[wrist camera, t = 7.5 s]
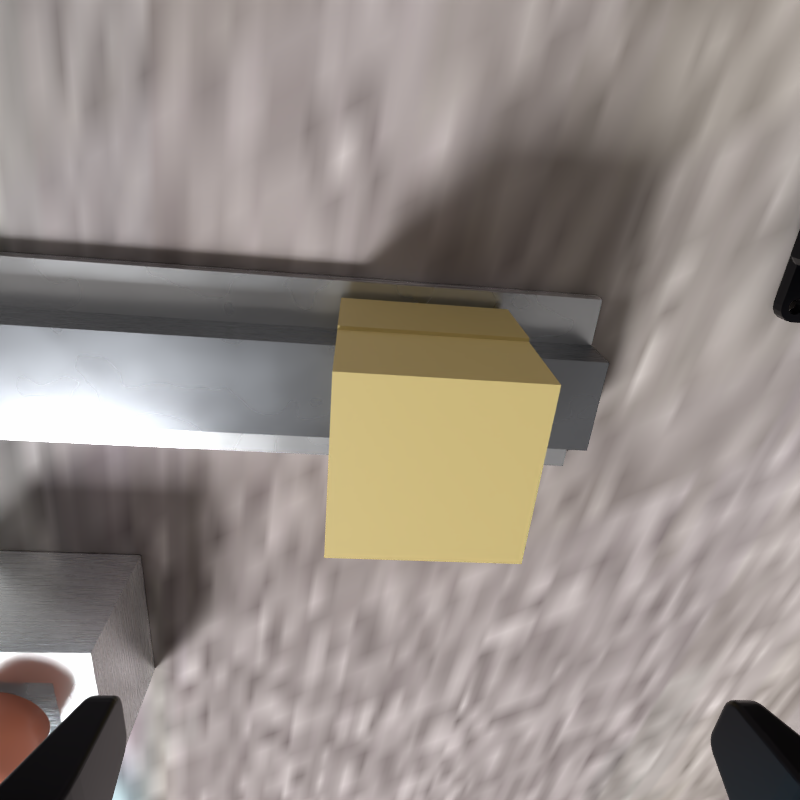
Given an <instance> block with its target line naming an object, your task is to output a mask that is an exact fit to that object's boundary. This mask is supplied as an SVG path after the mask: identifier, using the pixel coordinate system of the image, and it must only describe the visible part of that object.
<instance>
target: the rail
mask: <svg viewBox="0 0 800 800" xmlns="http://www.w3.org/2000/svg"><path fill="white" fill-rule="evenodd" d="M341 298H354V299H368V300H382V301H396V302H410V303H425V304H439V305H453V306H467V307H481V308H496V309H508V310H509V312H510V313H511V314H512V316H513V317H514V318H515V320H516V321H517V322H518V324H519V325H520V326H521V328H522V329H523V330H524V331H525V333H526V334H527V335H528V337H529V338H530V339H529V343H530V344H531V345H532V347H533V348H534V349H535V351H536V352H537V353H538V355H539V356H540V357H541V359H542V360H543V361H544V363H545V364H546V365H547V367H548V368H549V369H550V371H551V372H552V373H553V375H554V376H555V377H556V379H557V380H558V381H559V383H560V384H561V388H560V393H559V397H558V402H557V406H556V411H555V415H554V420H553V424H552V429H551V433H550V438H549V442H548V447H547V451H546V456H545V460H544V465H554V466H563V463H564V458H565V454H566V450H586V451H587V447H588V444H589V440H590V436H591V432H592V428H593V424H594V420H595V416H596V412H597V408H598V404H599V400H600V397H601V393H602V389H603V385H604V381H605V377H606V373H607V369H608V365H609V362H608V361H607V360H606V359H605V358H604V357H603V356H602V355H601V354H600V353H599V352H598V351H597V350H596V349H594V348H593V347H592V346H591V345H592V341H593V337H594V333H595V329H596V324H597V320H598V316H599V312H600V308H601V303H602V299H601V298H599V297H598V296H597V295H584V294H570V293H557V292H543V291H529V290H516V289H502V288H489V287H475V286H461V285H448V284H434V283H421V282H407V281H393V280H380V279H366V278H353V277H339V276H326V275H312V274H298V273H285V272H271V271H258V270H244V269H230V268H217V267H203V266H190V265H176V264H162V263H149V262H135V261H122V260H108V259H94V258H81V257H67V256H54V255H40V254H26V253H13V252H0V440H20V441H42V442H63V443H84V444H106V445H127V446H148V447H170V448H191V449H212V450H234V451H255V452H277V453H298V454H319V455H329V437H330V414H331V390H332V370H333V362H334V353H335V345H336V337H337V328H338V318H339V310H340V302H341Z"/></svg>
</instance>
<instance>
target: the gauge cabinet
mask: <svg viewBox="0 0 800 800" xmlns="http://www.w3.org/2000/svg"><path fill="white" fill-rule="evenodd" d="M154 670H155V668H154V660H153V652H152V644H151V635H150V627H149V619H148V611H147V603H146V595H145V587H144V579H143V571H142V562H141V555H116V554H84V553H52V552H19V551H0V692H3V693H9V694H14V695H17V696H20V697H23V698H25V699H27V700H29V701H31V702H33V703H34V704H36V705H37V706H38V707H40V708H41V709H42V710H43V711H44V713H45V714H46V715H47V717H48V719H49V722H50V732H49V734H50V733H51V732H52V731H53V730H54V729H55V728H56V727H57V726H58V725H59V724H60V723H61V722H62V721H63V720H64V719H65V718H66V717H67V716H68V715H69V714H70V713H71V712H72V711H73V710H74V709H75V708H76V707H77V706H78V705H79V704H80V703H81V702H83V701H84V700H85V699H86V698H88V697H90V696H94V695H115V696H118V697H119V698H120V699H121V702H122V707H123V713H124V720H125V726H126V732H127V741H128V739H129V736H130V733H131V731H132V728H133V726H134V723H135V720H136V718H137V715H138V712H139V710H140V707H141V704H142V702H143V699H144V696H145V694H146V691H147V689H148V686H149V683H150V681H151V678H152V675H153V673H154ZM127 741H126V744H127Z"/></svg>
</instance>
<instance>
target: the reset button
mask: <svg viewBox="0 0 800 800" xmlns="http://www.w3.org/2000/svg"><path fill="white" fill-rule="evenodd" d="M49 732H50V722H49V719H48V717H47V715H46V714H45V713H44V711H43V710H42V709H41V708H40V707H38V706H37V705H36V704H34V703H33V702H31V701H29V700H27V699H25V698H23V697H20V696H17V695H14V694H9V693H3V692H0V783H1V782H2V781H3V780H4V779H5V778H6V777H7V776H8V775H9V774H10V773H11V772H12V771H13V770H14V769H15V768H16V767H17V766H18V765H19V764H20V763H21V762H22V761H23V760H24V759H25V758H26V757H27V756H28V755H29V754H30V753H31V752H32V751H33V750H34V749H35V748H36V747H37V746H38V745H39V744H40V743H41V742H42V741H43V740H44V739H45V738H46V737H47V736H48V735H49Z"/></svg>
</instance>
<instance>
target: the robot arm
mask: <svg viewBox="0 0 800 800" xmlns="http://www.w3.org/2000/svg"><path fill="white" fill-rule="evenodd" d="M794 300H797V301H796V305H795V306H794V308H792V309H791V310H789V306H790V304H791V303H792V302H793V301H794ZM773 310H774V313H775V314H776V315H777V316H778V317H779V318H781V319H784V320H786V321H789V322H796V323H800V231H799V233H798V236H797V239H796V241H795V244H794V247H793V250H792V252H791V257H790V260H789V262H788V265H787V268H786V270H785V273H784V276H783V279H782V281H781V284H780V287H779V290H778V292H777V295H776V298H775V301H774V305H773ZM126 741H127V732H126V726H125V720H124V713H123V707H122V702H121V699H120V698H119V697H118V696H115V695H94V696H90V697H88V698H86V699H85V700H84V701H83V702H81V703H80V704H79V705H78V706H77V707H76V708H75V709H74V710H73V711H72V712H71V713H70V714H69V715H68V716H67V717H66V718H65V719H64V720H63V721H62V722H61V723H60V724H59V725H58V726H57V727H56V728H55V729H54V730H53V731H52V732H51V733H50V734H49V735H48V736H47V737H46V738H45V739H44V740H43V741H42V742H41V743H40V744H39V745H38V746H37V747H36V748H35V749H34V750H33V751H32V752H31V753H30V754H29V755H28V756H27V757H26V758H25V759H24V760H23V761H22V762H21V763H20V764H19V765H18V766H17V767H16V768H15V769H14V770H13V771H12V772H11V773H10V774H9V775H8V776H7V777H6V778H5V779H4V780H3V781H2V782H1V783H0V800H112V798H113V794H114V790H115V786H116V783H117V779H118V775H119V772H120V768H121V764H122V760H123V757H124V753H125V748H126ZM711 747H712V752H713V755H714V758H715V761H716V763H717V766H718V769H719V772H720V775H721V777H722V780H723V783H724V786H725V789H726V792H727V794H728V797H729V800H800V735H799V734H797V733H796V732H795V731H794V730H792V729H791V728H790V727H789V726H787V725H786V724H785V723H784V722H782V721H781V720H780V719H779V718H777V717H776V716H775V715H774V714H772V713H771V712H770V711H769V710H767V709H766V708H765V707H764V706H762V705H761V704H759V703H757V702H755V701H750V700H732V701H729V702H727V703H726V705H725V706H724V708H723V710H722V712H721V715H720V717H719V719H718V721H717V723H716V725H715V727H714V729H713V732H712V734H711Z"/></svg>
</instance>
